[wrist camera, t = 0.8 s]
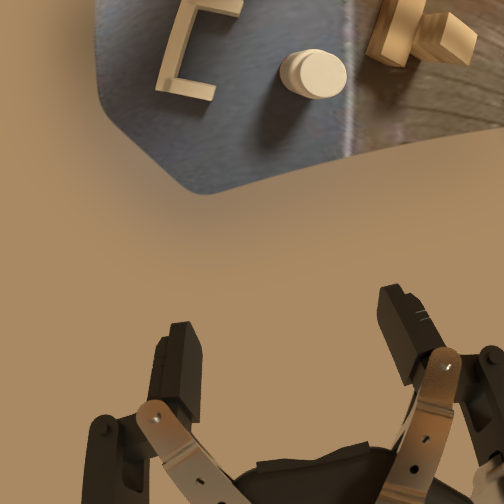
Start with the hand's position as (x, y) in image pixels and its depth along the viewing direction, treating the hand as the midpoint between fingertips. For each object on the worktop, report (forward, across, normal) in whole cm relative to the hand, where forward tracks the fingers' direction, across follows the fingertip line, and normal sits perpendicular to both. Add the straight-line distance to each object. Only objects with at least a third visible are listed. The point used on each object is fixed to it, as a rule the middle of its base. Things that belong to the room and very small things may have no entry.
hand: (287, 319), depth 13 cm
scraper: (+25, -20, -12) cm, 34 cm away
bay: (+25, +3, -13) cm, 28 cm away
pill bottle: (+25, -7, -8) cm, 27 cm away
